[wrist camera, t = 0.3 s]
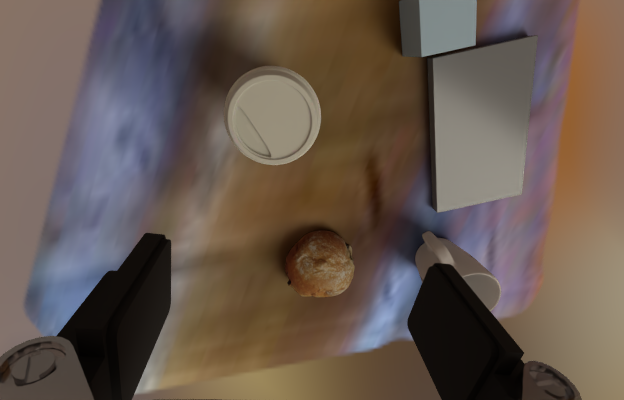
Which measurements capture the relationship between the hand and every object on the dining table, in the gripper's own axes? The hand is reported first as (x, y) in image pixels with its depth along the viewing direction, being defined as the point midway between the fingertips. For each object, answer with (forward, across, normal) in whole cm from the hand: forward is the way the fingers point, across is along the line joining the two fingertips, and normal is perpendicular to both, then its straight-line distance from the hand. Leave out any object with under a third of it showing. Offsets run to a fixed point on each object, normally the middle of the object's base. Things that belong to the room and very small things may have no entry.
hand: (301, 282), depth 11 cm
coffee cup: (+30, +2, -2) cm, 30 cm away
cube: (+30, -14, -13) cm, 35 cm away
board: (+30, -24, -3) cm, 39 cm away
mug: (+30, -25, +15) cm, 42 cm away
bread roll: (+30, -8, +19) cm, 37 cm away
